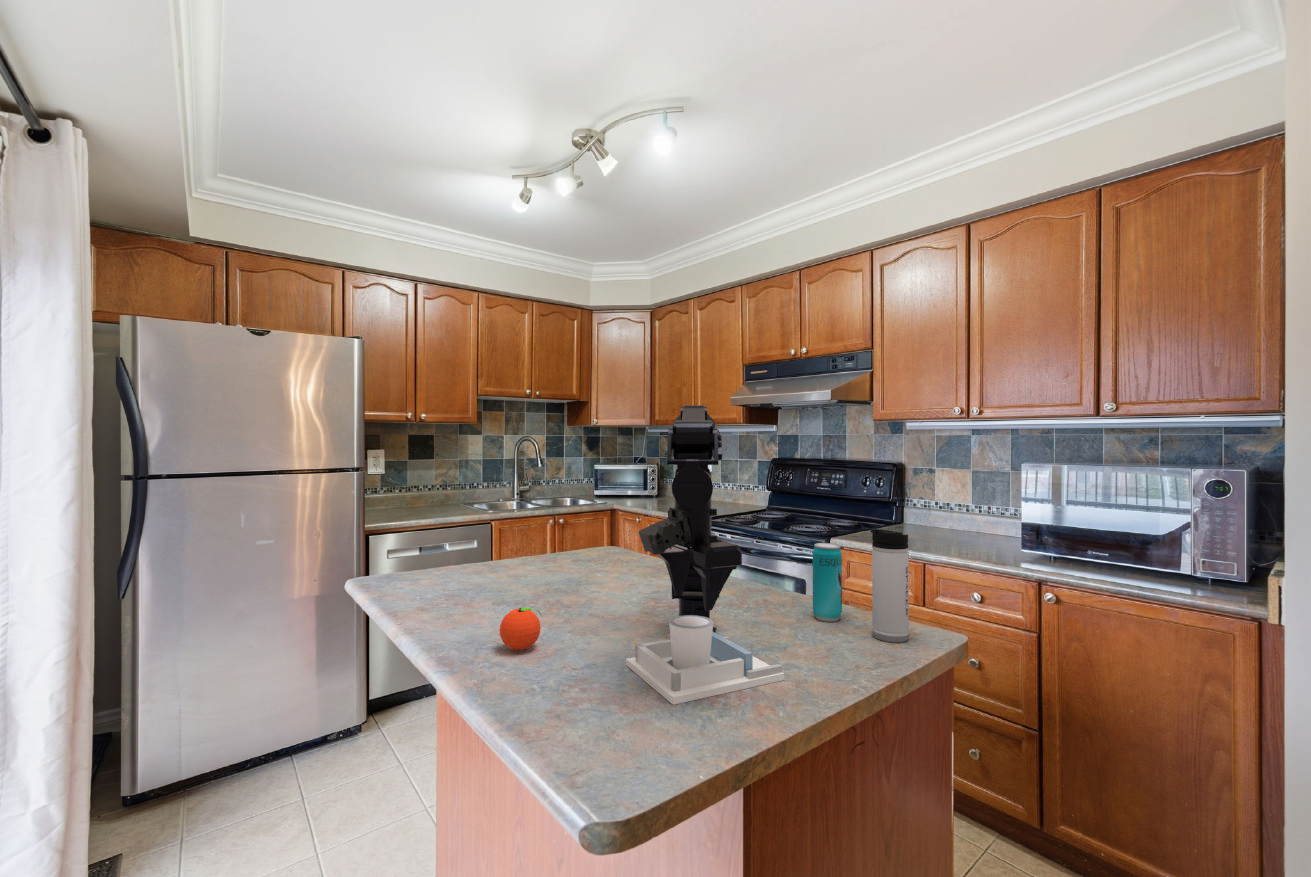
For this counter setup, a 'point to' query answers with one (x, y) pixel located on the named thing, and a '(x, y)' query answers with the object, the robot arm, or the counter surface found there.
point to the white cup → (690, 641)
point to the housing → (697, 674)
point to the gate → (730, 651)
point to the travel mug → (890, 586)
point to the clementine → (520, 629)
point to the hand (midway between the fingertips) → (692, 602)
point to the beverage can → (827, 582)
